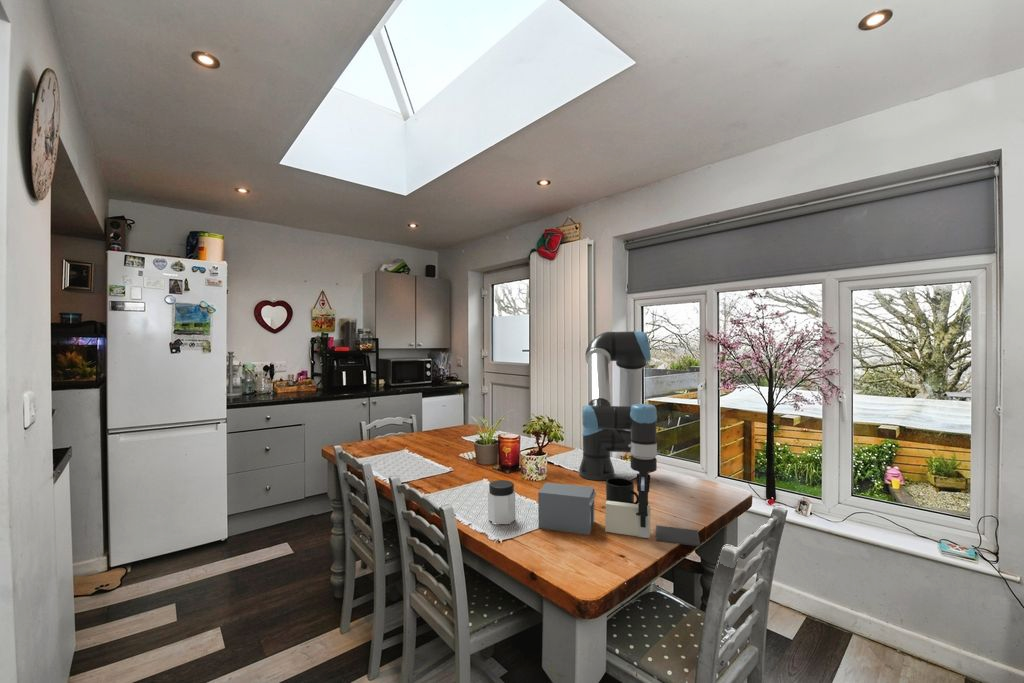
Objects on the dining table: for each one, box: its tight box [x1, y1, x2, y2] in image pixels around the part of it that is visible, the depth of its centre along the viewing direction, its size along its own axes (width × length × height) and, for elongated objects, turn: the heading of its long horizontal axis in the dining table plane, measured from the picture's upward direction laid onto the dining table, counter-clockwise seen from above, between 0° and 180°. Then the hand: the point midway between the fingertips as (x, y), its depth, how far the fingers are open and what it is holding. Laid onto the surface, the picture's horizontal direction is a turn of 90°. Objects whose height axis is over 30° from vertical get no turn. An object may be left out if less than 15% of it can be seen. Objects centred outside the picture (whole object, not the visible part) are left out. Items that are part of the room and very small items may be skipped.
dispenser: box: [537, 482, 597, 536], centre depth 138 cm, size 10×17×11 cm, turn 71°
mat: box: [655, 524, 702, 548], centre depth 130 cm, size 10×12×1 cm
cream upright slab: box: [604, 500, 651, 539], centre depth 132 cm, size 3×13×8 cm, turn 71°
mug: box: [605, 477, 638, 504], centre depth 151 cm, size 9×12×9 cm
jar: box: [487, 479, 516, 525], centre depth 142 cm, size 9×8×12 cm
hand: (643, 534), depth 131 cm, fingers closed on cream upright slab, 3 cm apart
